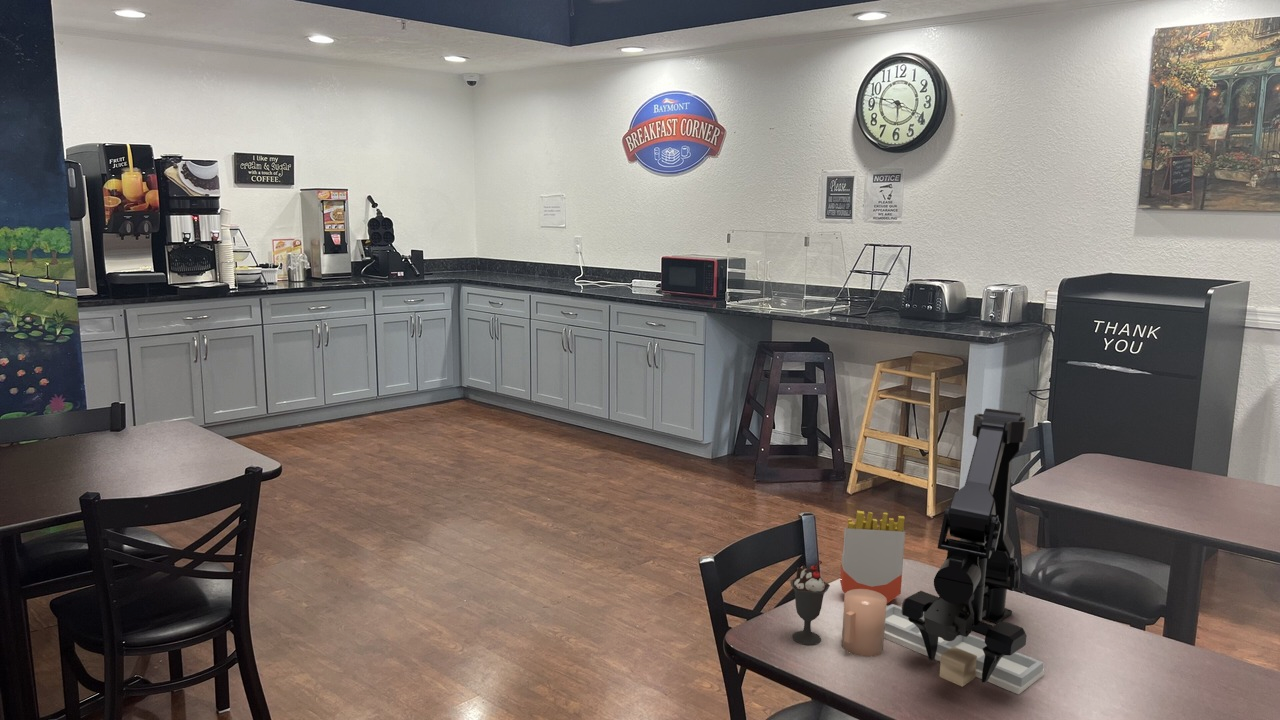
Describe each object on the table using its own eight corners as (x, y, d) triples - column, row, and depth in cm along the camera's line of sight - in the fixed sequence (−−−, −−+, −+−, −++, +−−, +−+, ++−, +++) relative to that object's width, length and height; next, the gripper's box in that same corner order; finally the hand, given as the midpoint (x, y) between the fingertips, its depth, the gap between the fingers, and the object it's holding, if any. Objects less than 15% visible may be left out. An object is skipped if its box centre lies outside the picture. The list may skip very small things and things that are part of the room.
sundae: (826, 649, 156) (831, 566, 153) (786, 645, 157) (790, 563, 155) (826, 631, 163) (831, 552, 160) (788, 627, 164) (792, 548, 161)
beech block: (951, 669, 151) (953, 646, 150) (974, 678, 148) (976, 655, 147) (939, 677, 148) (941, 654, 147) (962, 687, 145) (964, 663, 144)
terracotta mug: (856, 632, 162) (859, 585, 161) (891, 647, 157) (894, 598, 156) (828, 648, 157) (831, 598, 155) (863, 663, 152) (866, 613, 150)
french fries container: (839, 592, 179) (844, 504, 176) (895, 595, 178) (902, 507, 174) (841, 602, 174) (847, 512, 171) (899, 606, 173) (906, 515, 170)
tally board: (893, 615, 169) (894, 602, 169) (1043, 675, 149) (1045, 660, 149) (865, 630, 163) (866, 617, 163) (1018, 694, 143) (1019, 679, 143)
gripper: (886, 574, 146) (879, 664, 149) (997, 615, 133) (988, 713, 136) (923, 557, 154) (916, 643, 157) (1032, 593, 140) (1022, 687, 143)
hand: (957, 670), depth 148 cm, fingers open, 9 cm apart
